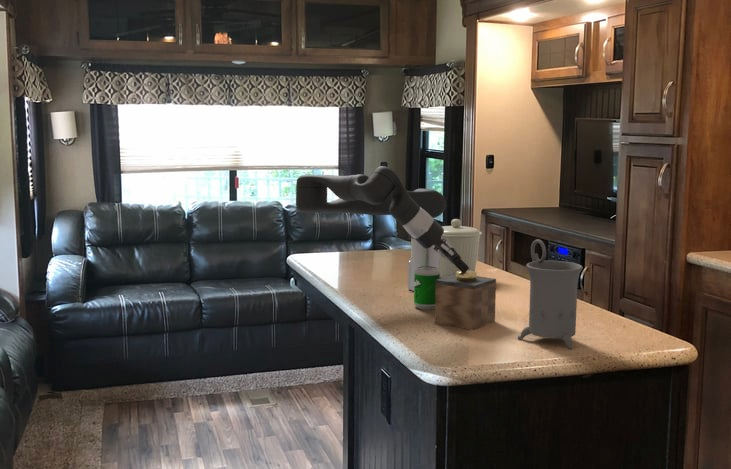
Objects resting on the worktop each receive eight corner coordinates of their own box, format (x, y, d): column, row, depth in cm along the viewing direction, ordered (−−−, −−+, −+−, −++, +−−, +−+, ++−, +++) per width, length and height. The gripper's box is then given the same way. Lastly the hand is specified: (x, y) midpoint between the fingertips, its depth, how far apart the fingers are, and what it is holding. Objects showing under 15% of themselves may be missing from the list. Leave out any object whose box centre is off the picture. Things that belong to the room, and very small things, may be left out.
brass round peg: (451, 315, 216) (452, 272, 214) (461, 311, 220) (462, 269, 219) (468, 318, 213) (469, 274, 211) (479, 314, 217) (480, 271, 215)
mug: (596, 346, 194) (601, 246, 190) (546, 352, 188) (550, 250, 185) (552, 328, 211) (556, 236, 207) (504, 333, 206) (507, 239, 202)
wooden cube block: (434, 322, 216) (435, 279, 214) (457, 314, 225) (458, 273, 224) (472, 330, 209) (474, 285, 207) (494, 321, 218) (496, 278, 216)
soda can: (441, 305, 236) (442, 266, 235) (435, 311, 229) (436, 270, 228) (417, 303, 239) (418, 264, 237) (410, 309, 232) (411, 269, 230)
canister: (422, 280, 274) (423, 220, 271) (437, 271, 290) (438, 215, 287) (473, 284, 267) (475, 223, 264) (485, 275, 284) (487, 217, 281)
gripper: (407, 234, 217) (449, 275, 221) (419, 241, 204) (464, 285, 208) (425, 214, 217) (468, 256, 221) (438, 220, 204) (483, 264, 208)
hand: (466, 270), depth 215 cm, fingers closed
